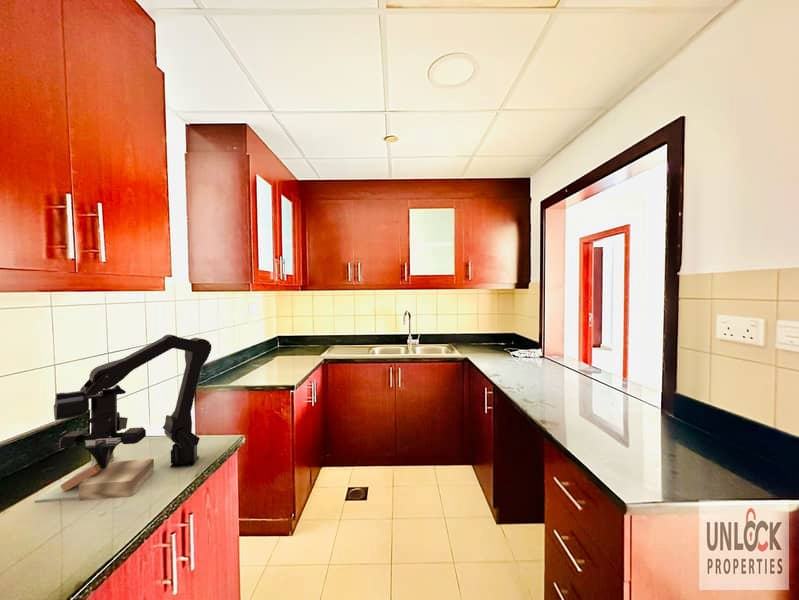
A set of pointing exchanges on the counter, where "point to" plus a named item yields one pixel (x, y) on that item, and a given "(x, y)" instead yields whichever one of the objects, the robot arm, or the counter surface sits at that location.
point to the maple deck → (116, 479)
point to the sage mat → (60, 493)
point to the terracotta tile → (81, 476)
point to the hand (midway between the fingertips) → (104, 468)
